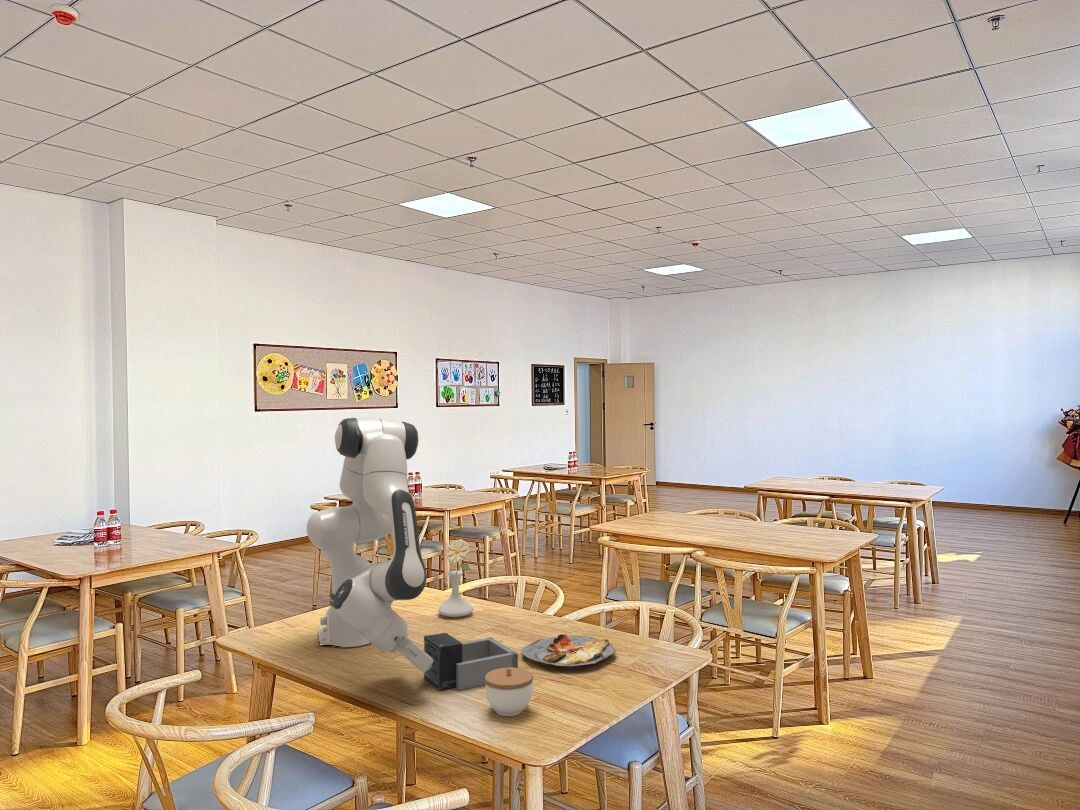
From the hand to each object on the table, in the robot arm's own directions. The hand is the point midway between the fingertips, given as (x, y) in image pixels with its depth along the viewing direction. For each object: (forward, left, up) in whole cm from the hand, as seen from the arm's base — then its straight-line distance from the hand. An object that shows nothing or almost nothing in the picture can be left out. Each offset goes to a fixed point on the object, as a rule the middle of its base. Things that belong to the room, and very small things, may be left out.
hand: (428, 666), depth 181 cm
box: (0, +13, -4) cm, 13 cm away
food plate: (+1, +40, -5) cm, 40 cm away
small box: (0, +4, -4) cm, 6 cm away
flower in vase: (-51, +30, -5) cm, 59 cm away
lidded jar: (+24, +10, -5) cm, 26 cm away
